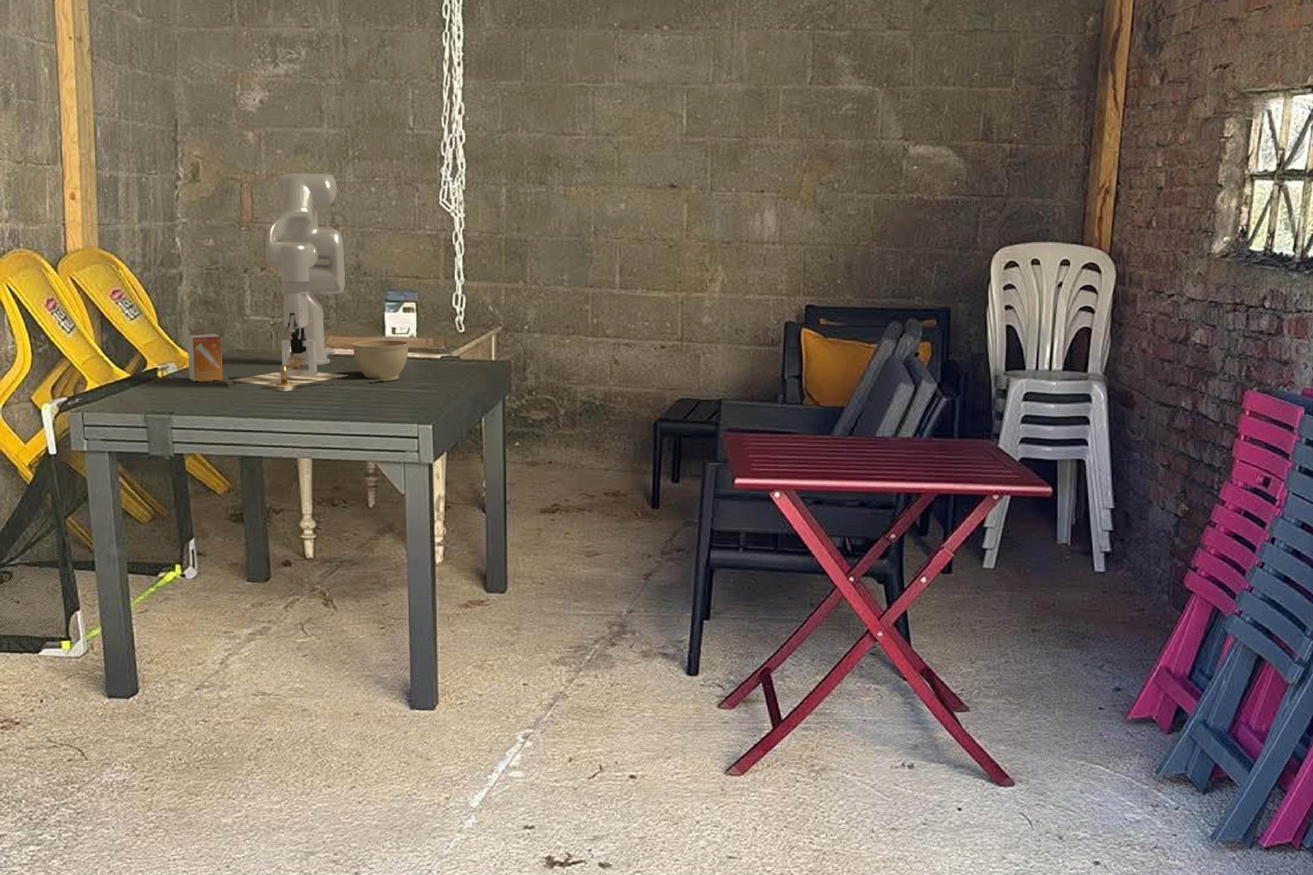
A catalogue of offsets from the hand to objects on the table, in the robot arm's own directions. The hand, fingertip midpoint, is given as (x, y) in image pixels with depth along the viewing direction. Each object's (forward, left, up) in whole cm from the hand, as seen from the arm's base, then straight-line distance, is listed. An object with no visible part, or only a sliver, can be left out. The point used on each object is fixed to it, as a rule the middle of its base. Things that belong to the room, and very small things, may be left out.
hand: (298, 351), depth 366 cm
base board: (-1, -5, -9) cm, 10 cm away
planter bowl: (-19, +14, -10) cm, 25 cm away
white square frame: (0, 0, -7) cm, 7 cm away
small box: (+9, -28, -10) cm, 31 cm away
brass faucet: (-1, -4, -8) cm, 9 cm away
